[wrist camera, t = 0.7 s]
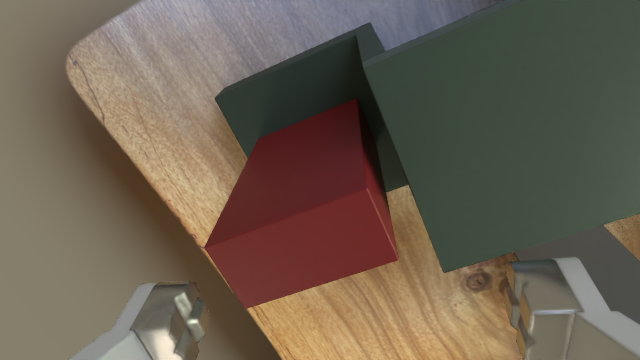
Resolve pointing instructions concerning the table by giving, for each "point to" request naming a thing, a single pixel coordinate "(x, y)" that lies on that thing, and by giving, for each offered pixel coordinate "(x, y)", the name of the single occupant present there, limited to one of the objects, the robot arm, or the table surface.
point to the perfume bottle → (598, 266)
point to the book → (305, 209)
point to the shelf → (482, 118)
